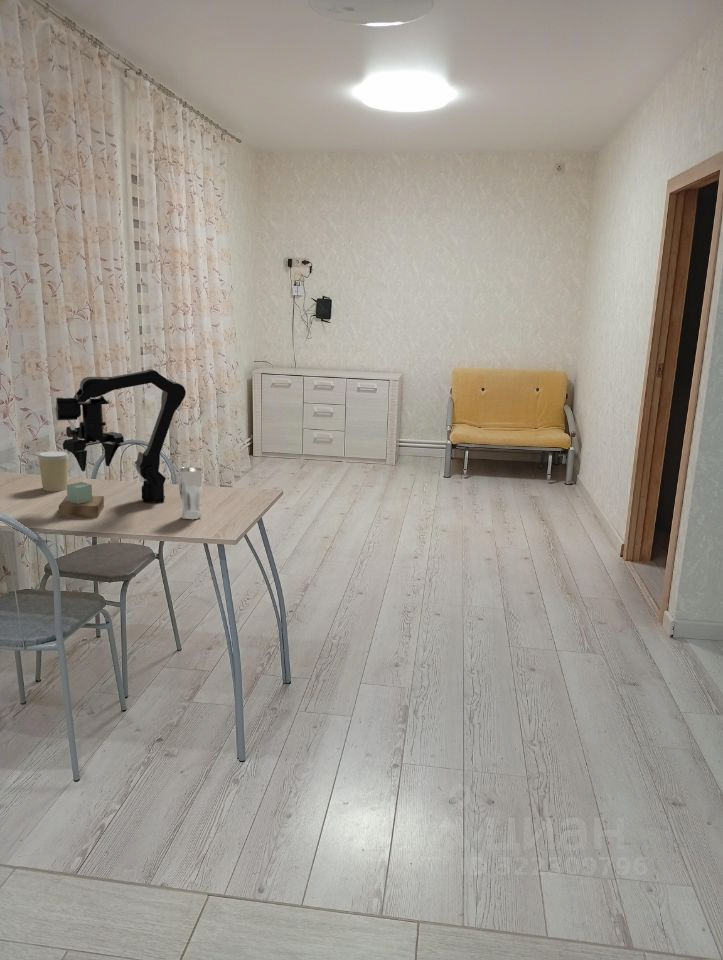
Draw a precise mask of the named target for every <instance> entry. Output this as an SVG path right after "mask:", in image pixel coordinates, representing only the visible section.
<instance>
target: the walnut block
mask: <svg viewBox="0 0 723 960" xmlns="http://www.w3.org/2000/svg"><path fill="white" fill-rule="evenodd" d="M104 508H105V496H104V495H92V501H89V502H85V503H80V504H77V503H73V502H70V501H68V499H67V495H66V496H65V497H64V498H63V500H62V501H61V502H60V503H59V505H58V517H59V518H99V517H100V515H101V513H102V512H103V510H104ZM98 516H99V517H98Z"/></svg>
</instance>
